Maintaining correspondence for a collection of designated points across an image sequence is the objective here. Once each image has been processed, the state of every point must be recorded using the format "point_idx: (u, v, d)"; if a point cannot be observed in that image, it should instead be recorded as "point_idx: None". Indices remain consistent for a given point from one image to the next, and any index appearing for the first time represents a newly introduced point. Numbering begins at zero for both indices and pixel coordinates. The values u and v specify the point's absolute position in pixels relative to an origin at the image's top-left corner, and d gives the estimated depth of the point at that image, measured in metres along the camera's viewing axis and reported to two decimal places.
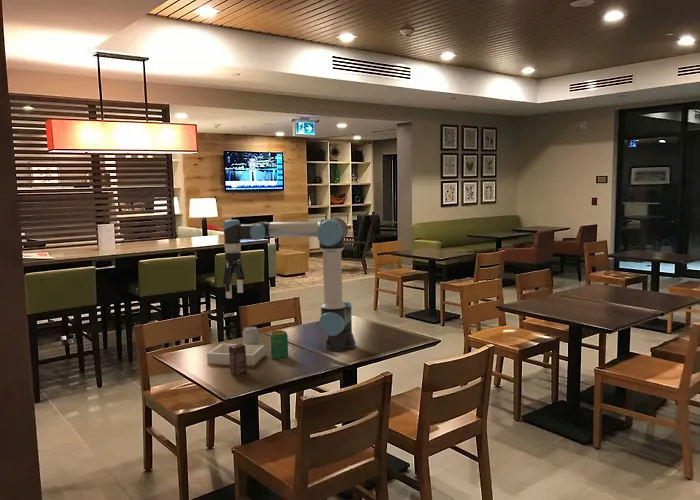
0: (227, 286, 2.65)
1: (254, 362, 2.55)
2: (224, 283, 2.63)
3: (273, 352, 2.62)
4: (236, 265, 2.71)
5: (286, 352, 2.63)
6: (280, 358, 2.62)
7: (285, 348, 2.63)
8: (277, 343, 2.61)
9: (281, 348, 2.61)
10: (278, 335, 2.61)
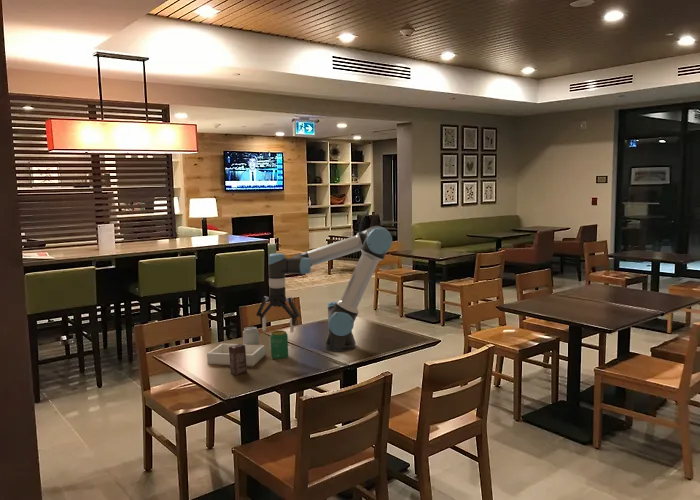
0: None
1: (254, 362, 2.55)
2: None
3: (273, 352, 2.62)
4: (274, 301, 2.61)
5: (286, 352, 2.63)
6: (280, 358, 2.62)
7: (285, 348, 2.63)
8: (277, 343, 2.61)
9: (281, 348, 2.61)
10: (278, 335, 2.61)
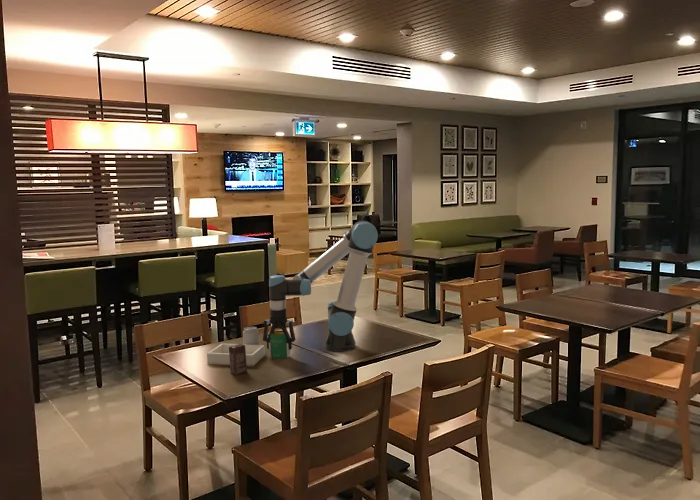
0: None
1: (254, 362, 2.55)
2: None
3: (273, 352, 2.62)
4: (275, 322, 2.62)
5: (286, 352, 2.63)
6: (280, 358, 2.62)
7: (285, 348, 2.63)
8: (277, 343, 2.61)
9: (281, 348, 2.61)
10: (278, 335, 2.61)
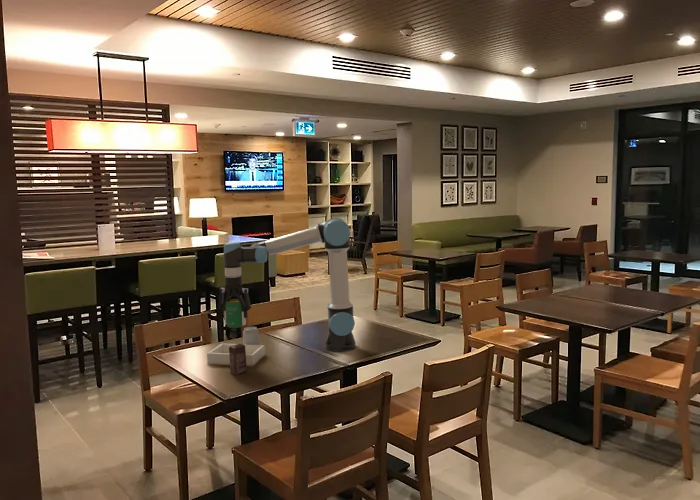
0: None
1: (254, 362, 2.55)
2: None
3: (228, 320, 2.58)
4: (230, 290, 2.58)
5: (241, 320, 2.59)
6: (235, 326, 2.58)
7: (240, 316, 2.59)
8: (232, 311, 2.57)
9: (236, 316, 2.57)
10: (233, 303, 2.57)
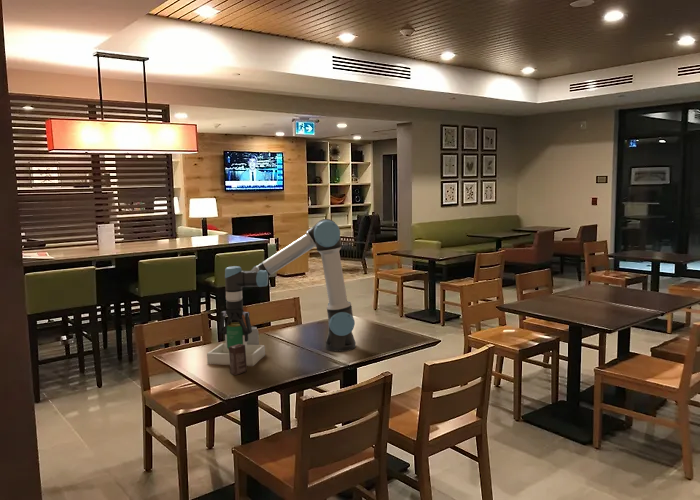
0: None
1: (254, 362, 2.55)
2: None
3: (229, 344, 2.59)
4: (231, 314, 2.59)
5: None
6: None
7: (241, 340, 2.60)
8: (233, 335, 2.58)
9: (237, 339, 2.59)
10: (234, 326, 2.58)
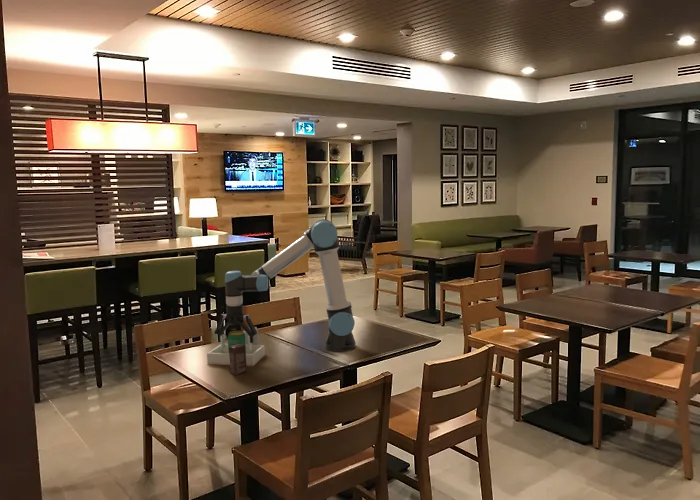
0: None
1: (254, 362, 2.55)
2: None
3: None
4: (231, 319, 2.59)
5: None
6: None
7: None
8: (234, 344, 2.58)
9: None
10: (235, 335, 2.58)
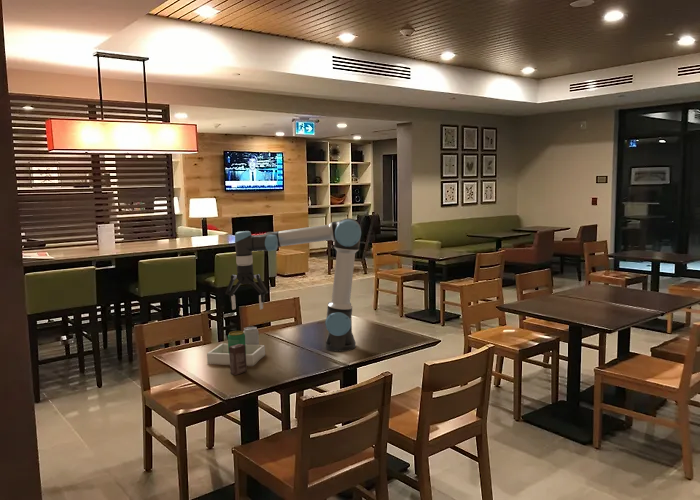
0: None
1: (254, 362, 2.55)
2: None
3: None
4: (242, 278, 2.62)
5: None
6: None
7: None
8: (234, 344, 2.58)
9: None
10: (235, 335, 2.58)
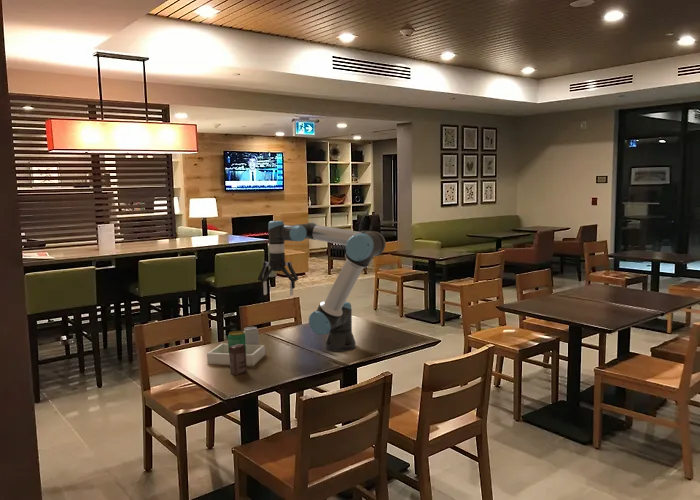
0: None
1: (254, 362, 2.55)
2: None
3: None
4: (274, 265, 2.76)
5: None
6: None
7: None
8: (234, 343, 2.58)
9: None
10: (235, 335, 2.59)
